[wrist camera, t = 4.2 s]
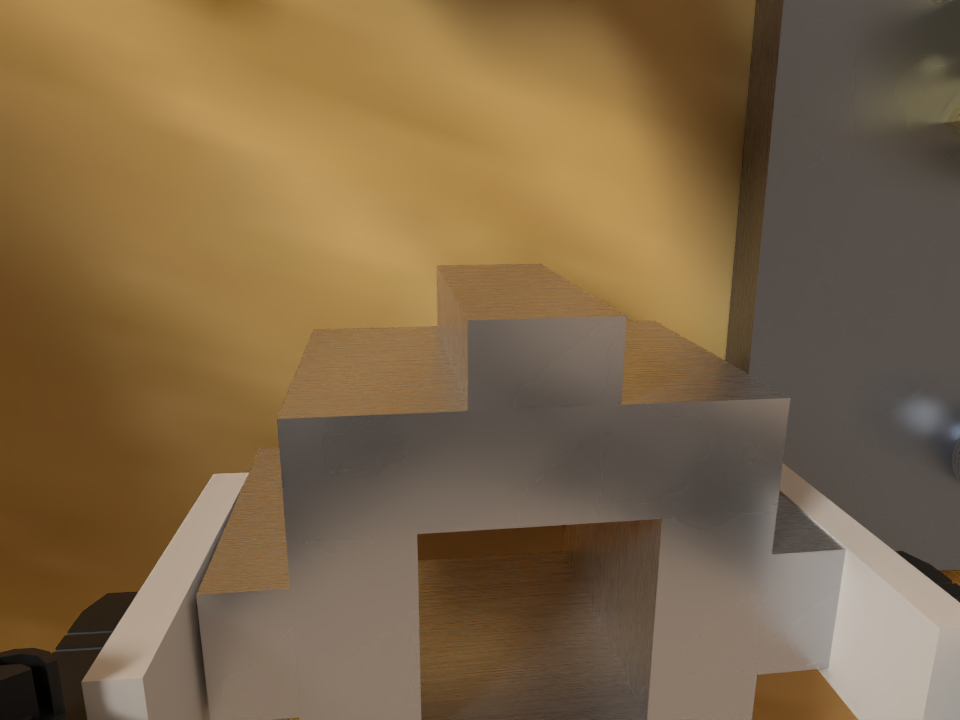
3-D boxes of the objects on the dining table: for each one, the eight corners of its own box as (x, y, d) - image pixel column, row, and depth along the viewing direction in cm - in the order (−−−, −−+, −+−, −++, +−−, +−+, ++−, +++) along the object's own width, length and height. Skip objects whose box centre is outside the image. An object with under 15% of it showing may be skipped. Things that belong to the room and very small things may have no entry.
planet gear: (278, 689, 19) (233, 923, 13) (244, 268, 16) (166, 327, 10) (680, 653, 20) (802, 851, 14) (715, 261, 17) (883, 309, 11)
